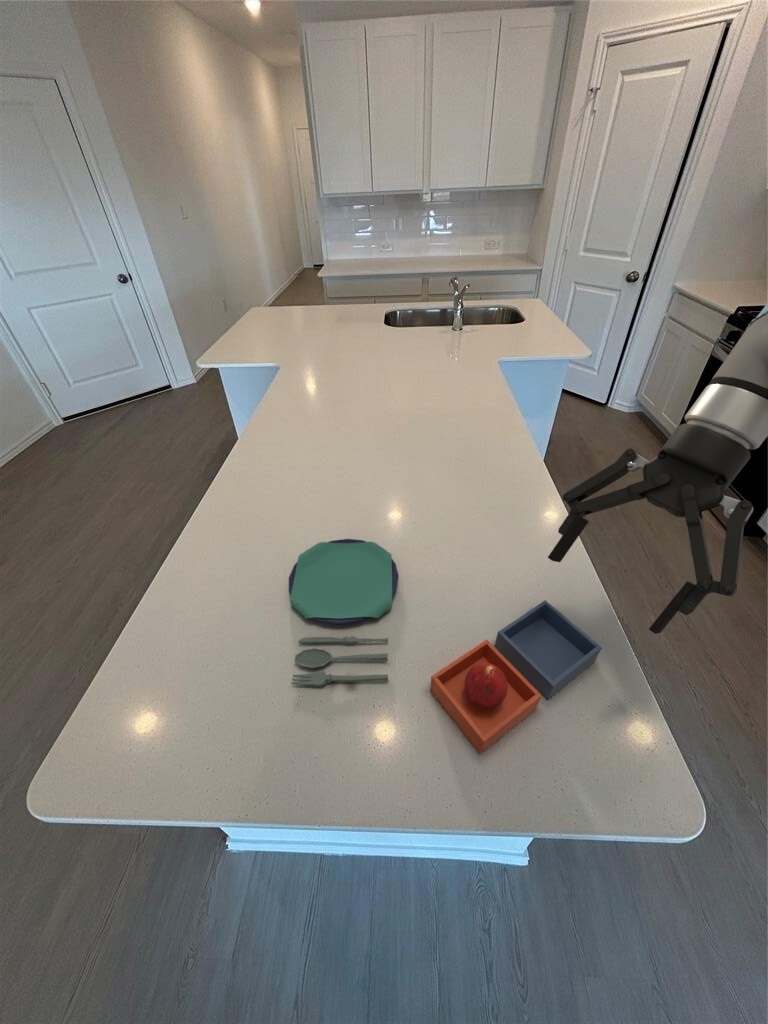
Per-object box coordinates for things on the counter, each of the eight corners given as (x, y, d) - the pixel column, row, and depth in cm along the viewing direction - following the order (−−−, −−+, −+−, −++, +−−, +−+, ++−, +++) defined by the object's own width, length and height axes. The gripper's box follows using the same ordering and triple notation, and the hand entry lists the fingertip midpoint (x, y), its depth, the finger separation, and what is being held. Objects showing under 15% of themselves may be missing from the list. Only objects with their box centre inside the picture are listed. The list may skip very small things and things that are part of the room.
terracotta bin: (536, 709, 62) (542, 695, 60) (480, 754, 58) (483, 741, 55) (483, 653, 69) (486, 639, 66) (429, 690, 65) (431, 676, 62)
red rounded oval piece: (500, 724, 60) (509, 695, 55) (458, 711, 62) (464, 682, 57) (505, 685, 64) (514, 656, 59) (466, 674, 66) (472, 644, 61)
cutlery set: (397, 544, 88) (397, 536, 86) (401, 687, 65) (401, 679, 64) (298, 546, 88) (296, 537, 87) (268, 688, 65) (265, 681, 64)
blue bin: (594, 662, 68) (602, 647, 65) (547, 700, 63) (553, 686, 61) (540, 614, 74) (545, 599, 72) (494, 646, 70) (497, 631, 67)
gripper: (856, 499, 43) (712, 665, 48) (620, 407, 58) (531, 539, 64) (867, 483, 37) (702, 672, 42) (603, 386, 53) (507, 533, 58)
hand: (599, 592), depth 53 cm, fingers open, 13 cm apart
